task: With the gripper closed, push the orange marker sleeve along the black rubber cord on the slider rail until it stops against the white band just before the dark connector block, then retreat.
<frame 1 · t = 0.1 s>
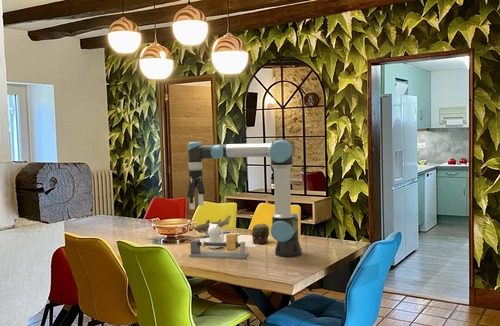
hand: (196, 207, 282), 28 cm above the table, fingers open, 13 cm apart
carved stone head: (260, 243, 314), on the table
sleeve: (232, 241, 281), point 8 cm above the table, slide at 0.0 cm
slider rail: (219, 255, 284), on the table
wood carving: (213, 234, 344), on the table
cat figurine: (216, 247, 305), on the table
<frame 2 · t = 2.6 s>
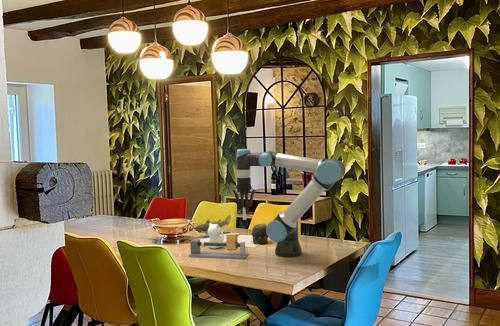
hand: (244, 219, 279), 21 cm above the table, fingers closed
nothing on the table moved.
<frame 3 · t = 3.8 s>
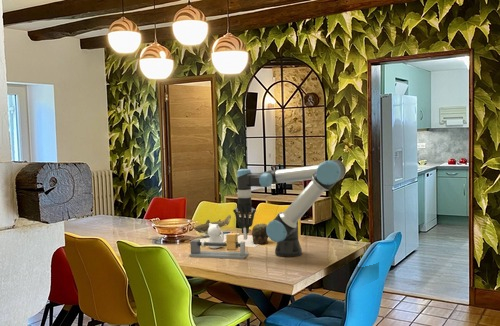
hand: (245, 239, 279), 10 cm above the table, fingers closed
nothing on the table moved.
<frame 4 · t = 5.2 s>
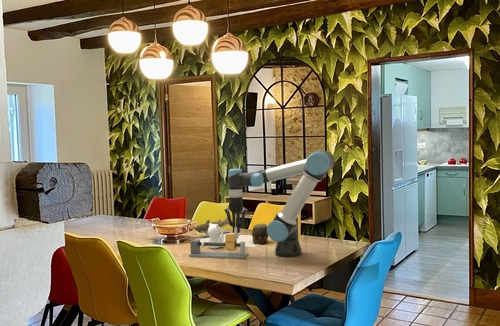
hand: (236, 238, 281), 10 cm above the table, fingers closed
sleeve: (231, 241, 282), point 8 cm above the table, slide at 0.6 cm, touching gripper
everything else where it was.
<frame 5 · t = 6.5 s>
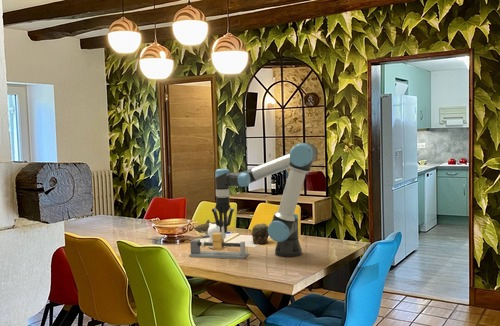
hand: (223, 238, 283), 10 cm above the table, fingers closed
sleeve: (218, 241, 283), point 8 cm above the table, slide at 8.1 cm, touching gripper
everything else where it was.
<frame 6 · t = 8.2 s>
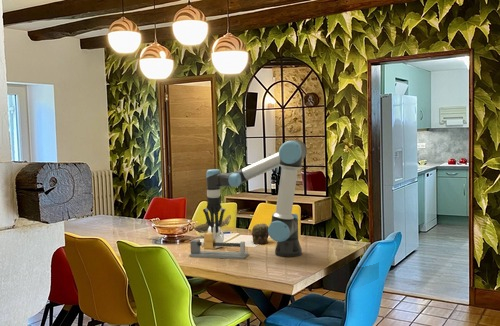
hand: (215, 238, 284), 10 cm above the table, fingers closed
sleeve: (209, 240, 285), point 8 cm above the table, slide at 13.2 cm, touching gripper
everything else where it was.
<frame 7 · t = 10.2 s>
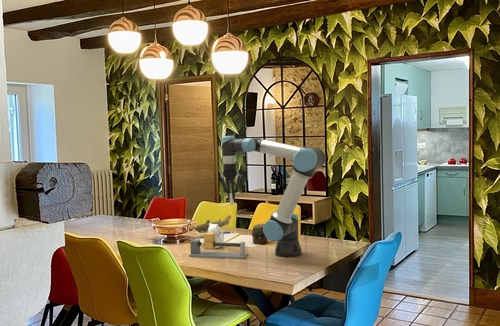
hand: (231, 204, 285), 28 cm above the table, fingers closed
sleeve: (209, 240, 285), point 8 cm above the table, slide at 13.2 cm
everything else where it was.
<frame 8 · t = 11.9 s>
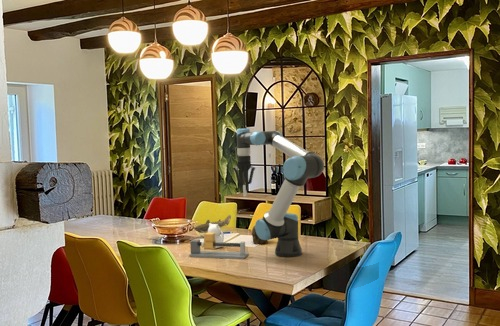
hand: (245, 196, 290), 32 cm above the table, fingers closed
nothing on the table moved.
at the end: sleeve slide at 13.2 cm; the gripper is holding nothing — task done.
